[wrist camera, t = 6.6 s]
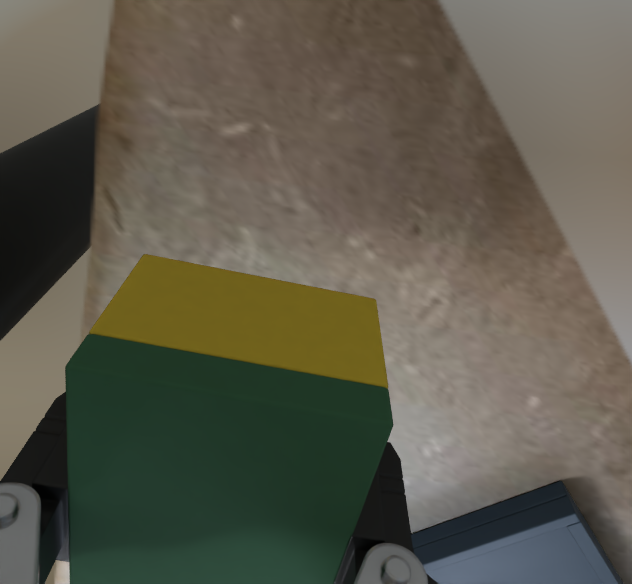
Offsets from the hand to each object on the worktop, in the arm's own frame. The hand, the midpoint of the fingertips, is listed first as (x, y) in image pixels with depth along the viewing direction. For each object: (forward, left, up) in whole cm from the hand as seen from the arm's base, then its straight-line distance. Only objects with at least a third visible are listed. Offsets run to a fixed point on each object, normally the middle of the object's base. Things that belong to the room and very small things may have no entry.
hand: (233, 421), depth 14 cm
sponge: (0, 0, -1) cm, 1 cm away
